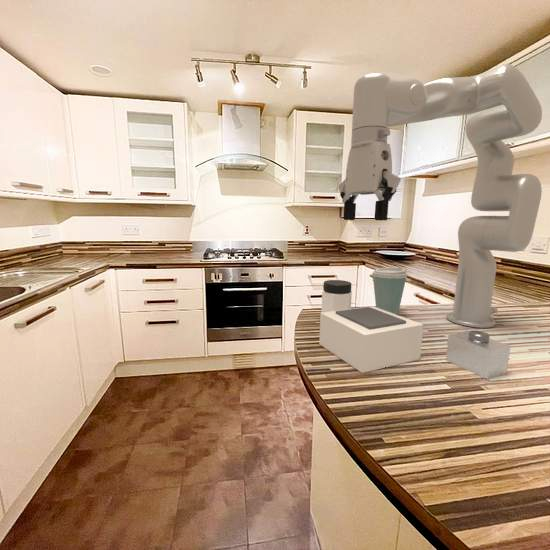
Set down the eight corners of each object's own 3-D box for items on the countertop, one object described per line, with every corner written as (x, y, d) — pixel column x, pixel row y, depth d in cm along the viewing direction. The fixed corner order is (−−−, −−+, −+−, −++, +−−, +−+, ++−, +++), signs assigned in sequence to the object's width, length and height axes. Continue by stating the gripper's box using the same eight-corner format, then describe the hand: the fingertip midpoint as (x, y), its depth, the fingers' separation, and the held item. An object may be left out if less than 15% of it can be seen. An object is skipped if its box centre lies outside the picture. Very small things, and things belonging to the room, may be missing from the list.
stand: (370, 334, 83) (372, 303, 82) (420, 359, 69) (423, 321, 67) (319, 344, 77) (320, 310, 75) (362, 373, 62) (364, 332, 61)
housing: (463, 356, 71) (467, 325, 70) (506, 373, 63) (511, 339, 62) (445, 360, 69) (449, 328, 67) (487, 379, 60) (492, 343, 59)
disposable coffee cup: (382, 320, 96) (385, 271, 93) (363, 310, 106) (365, 266, 103) (411, 317, 98) (415, 270, 96) (390, 308, 109) (393, 265, 106)
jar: (326, 315, 100) (327, 278, 98) (352, 319, 96) (354, 281, 94) (318, 323, 92) (319, 283, 89) (346, 327, 88) (348, 286, 86)
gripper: (415, 133, 62) (407, 220, 65) (353, 149, 77) (350, 220, 80) (389, 127, 58) (382, 220, 61) (329, 146, 73) (327, 219, 76)
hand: (364, 220), depth 71 cm, fingers open, 9 cm apart
